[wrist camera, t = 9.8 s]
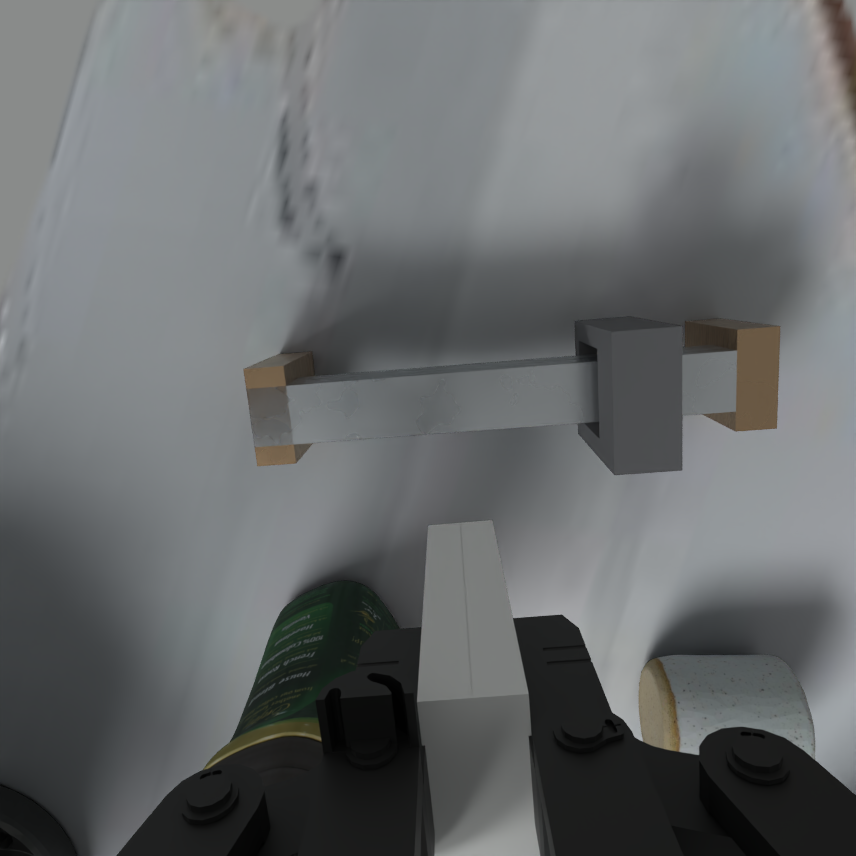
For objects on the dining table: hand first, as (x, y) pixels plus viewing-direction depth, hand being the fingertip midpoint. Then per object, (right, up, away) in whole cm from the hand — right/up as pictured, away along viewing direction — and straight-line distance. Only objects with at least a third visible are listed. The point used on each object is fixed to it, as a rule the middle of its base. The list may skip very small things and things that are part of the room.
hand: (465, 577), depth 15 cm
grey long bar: (+3, +6, +24) cm, 25 cm away
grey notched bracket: (+9, +6, +21) cm, 24 cm away
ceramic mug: (+17, -15, +28) cm, 36 cm away
